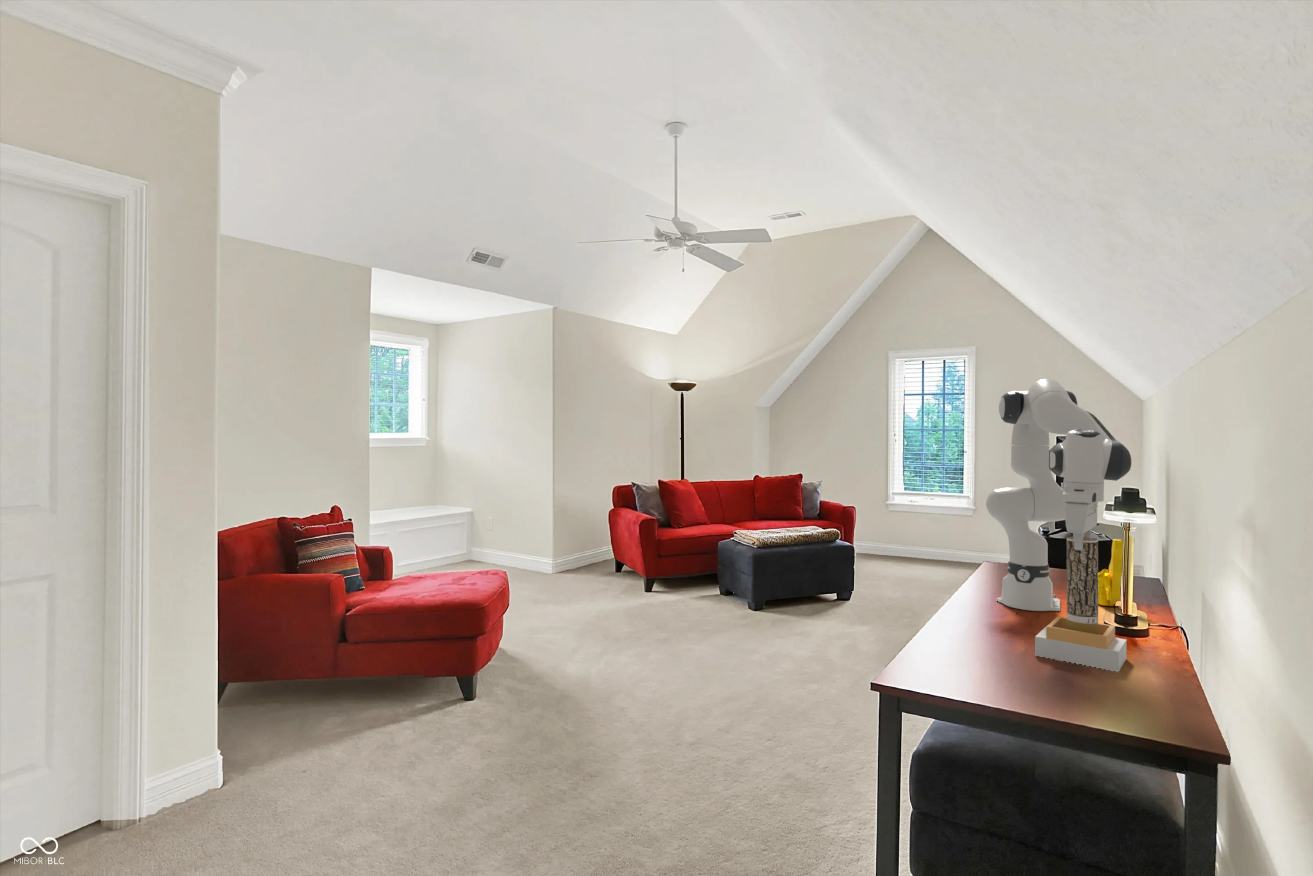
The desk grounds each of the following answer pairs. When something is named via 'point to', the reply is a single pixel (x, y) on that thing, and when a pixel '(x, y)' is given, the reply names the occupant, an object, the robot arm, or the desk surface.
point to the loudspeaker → (1081, 645)
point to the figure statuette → (1111, 577)
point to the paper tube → (1082, 586)
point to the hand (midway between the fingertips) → (1082, 547)
